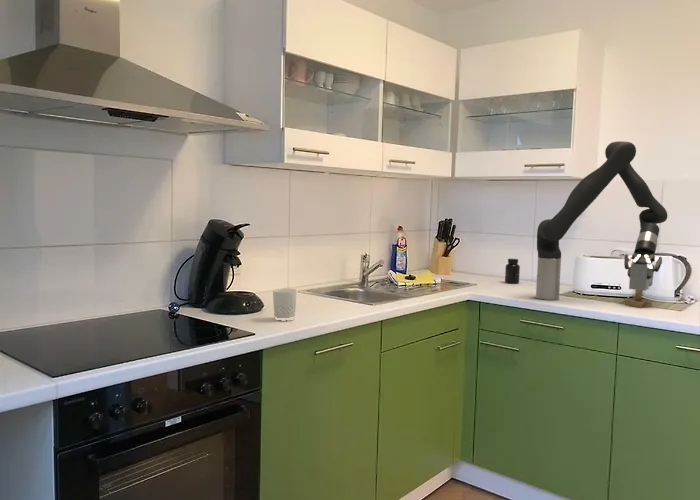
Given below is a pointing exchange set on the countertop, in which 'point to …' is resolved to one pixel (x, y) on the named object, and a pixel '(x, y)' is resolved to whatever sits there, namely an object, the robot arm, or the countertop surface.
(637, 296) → the post
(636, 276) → the sleeve
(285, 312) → the white cup
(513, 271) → the supplement bottle
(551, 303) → the countertop surface
